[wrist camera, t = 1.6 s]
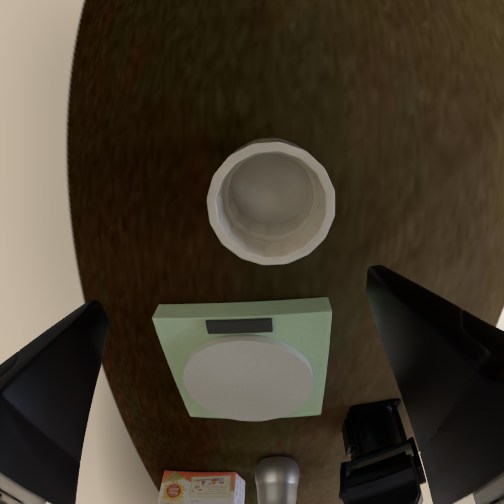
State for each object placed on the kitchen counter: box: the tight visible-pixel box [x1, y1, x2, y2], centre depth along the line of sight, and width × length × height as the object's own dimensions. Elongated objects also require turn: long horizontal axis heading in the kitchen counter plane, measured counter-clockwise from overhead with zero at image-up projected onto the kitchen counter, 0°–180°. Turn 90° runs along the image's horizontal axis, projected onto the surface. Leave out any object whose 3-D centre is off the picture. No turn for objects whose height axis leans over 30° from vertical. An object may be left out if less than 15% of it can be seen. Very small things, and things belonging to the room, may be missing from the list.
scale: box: [152, 297, 332, 421], centre depth 25 cm, size 14×14×3 cm
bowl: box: [207, 138, 335, 265], centre depth 17 cm, size 7×7×5 cm
